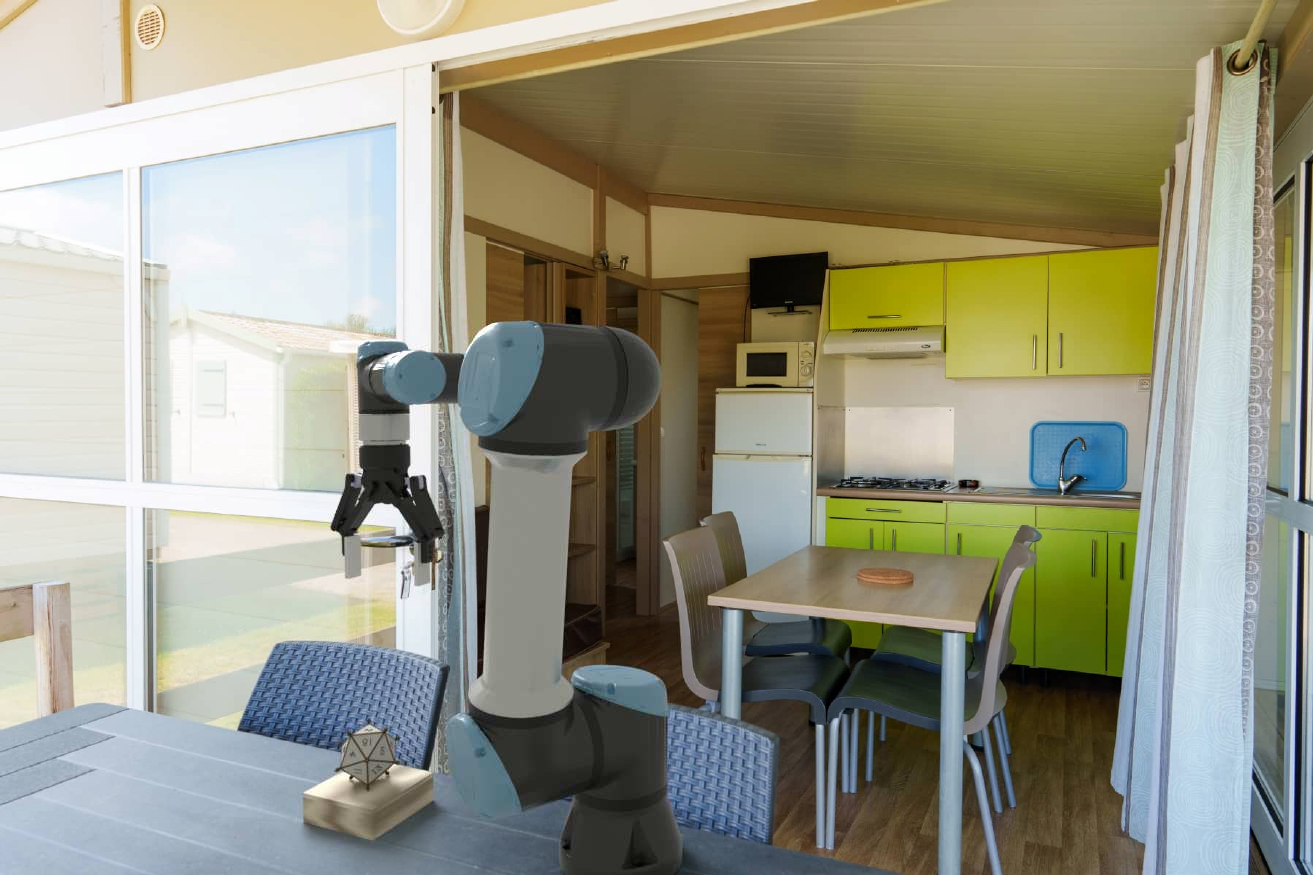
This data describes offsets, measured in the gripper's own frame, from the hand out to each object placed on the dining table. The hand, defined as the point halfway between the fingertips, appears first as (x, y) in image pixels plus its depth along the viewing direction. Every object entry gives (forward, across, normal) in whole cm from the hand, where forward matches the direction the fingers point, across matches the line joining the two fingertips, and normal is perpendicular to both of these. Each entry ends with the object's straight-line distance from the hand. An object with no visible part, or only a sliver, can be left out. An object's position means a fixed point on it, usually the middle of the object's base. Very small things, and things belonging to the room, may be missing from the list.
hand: (387, 580), depth 131 cm
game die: (+25, -8, +13) cm, 29 cm away
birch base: (+29, -8, +13) cm, 33 cm away
